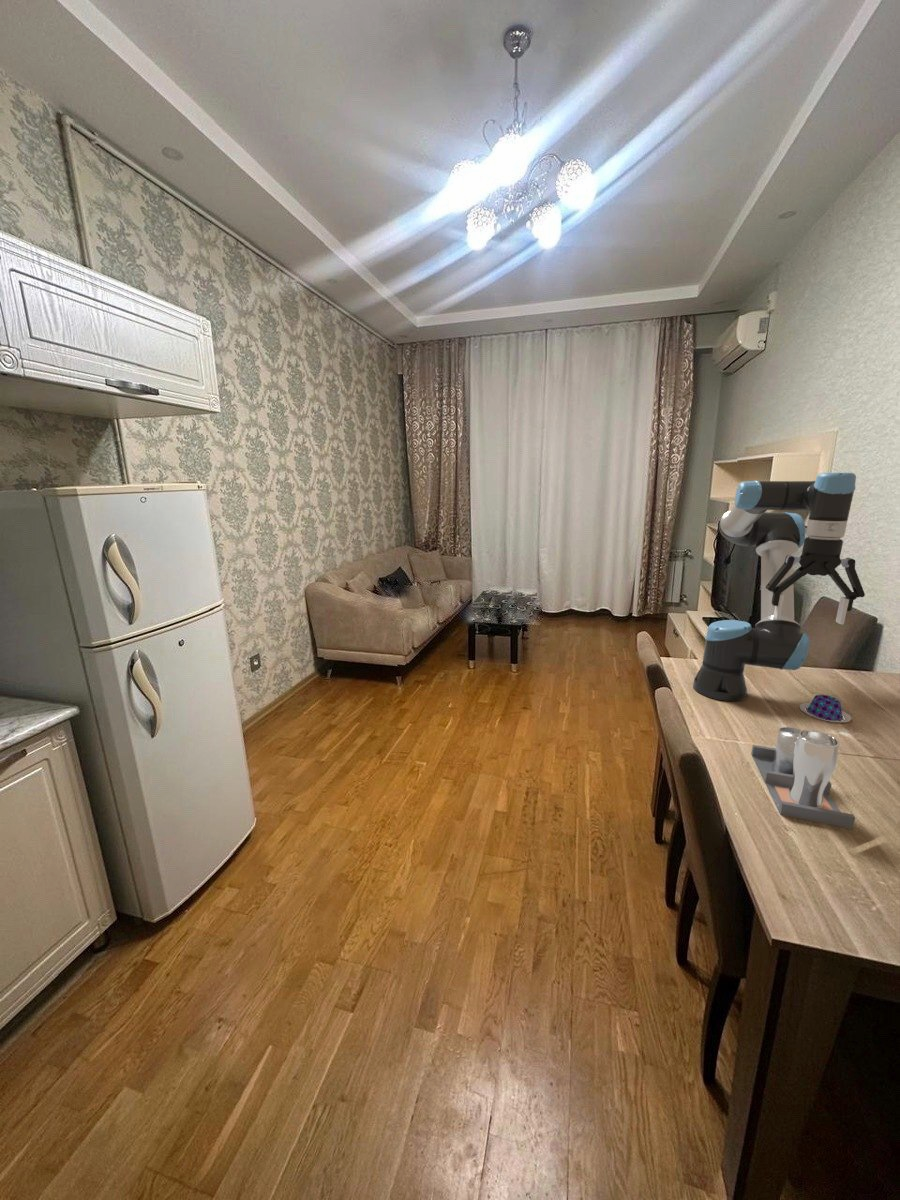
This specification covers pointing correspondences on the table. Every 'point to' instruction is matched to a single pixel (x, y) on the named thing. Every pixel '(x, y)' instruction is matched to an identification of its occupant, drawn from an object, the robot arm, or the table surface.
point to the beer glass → (812, 767)
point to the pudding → (825, 708)
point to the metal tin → (785, 750)
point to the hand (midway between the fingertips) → (807, 620)
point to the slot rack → (780, 787)
